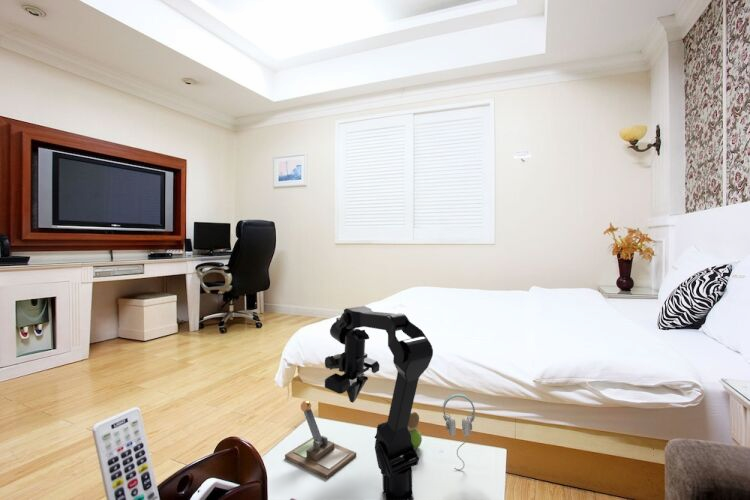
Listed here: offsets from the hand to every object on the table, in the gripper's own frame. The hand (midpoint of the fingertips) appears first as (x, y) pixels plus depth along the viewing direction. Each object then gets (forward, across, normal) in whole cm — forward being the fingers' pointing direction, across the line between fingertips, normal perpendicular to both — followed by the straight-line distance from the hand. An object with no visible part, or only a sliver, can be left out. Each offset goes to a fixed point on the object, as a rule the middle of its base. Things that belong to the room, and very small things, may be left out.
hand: (352, 401), depth 105 cm
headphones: (+11, -7, +31) cm, 34 cm away
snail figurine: (+13, -9, +16) cm, 22 cm away
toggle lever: (+11, +8, -4) cm, 15 cm away
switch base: (+14, +8, -4) cm, 17 cm away
